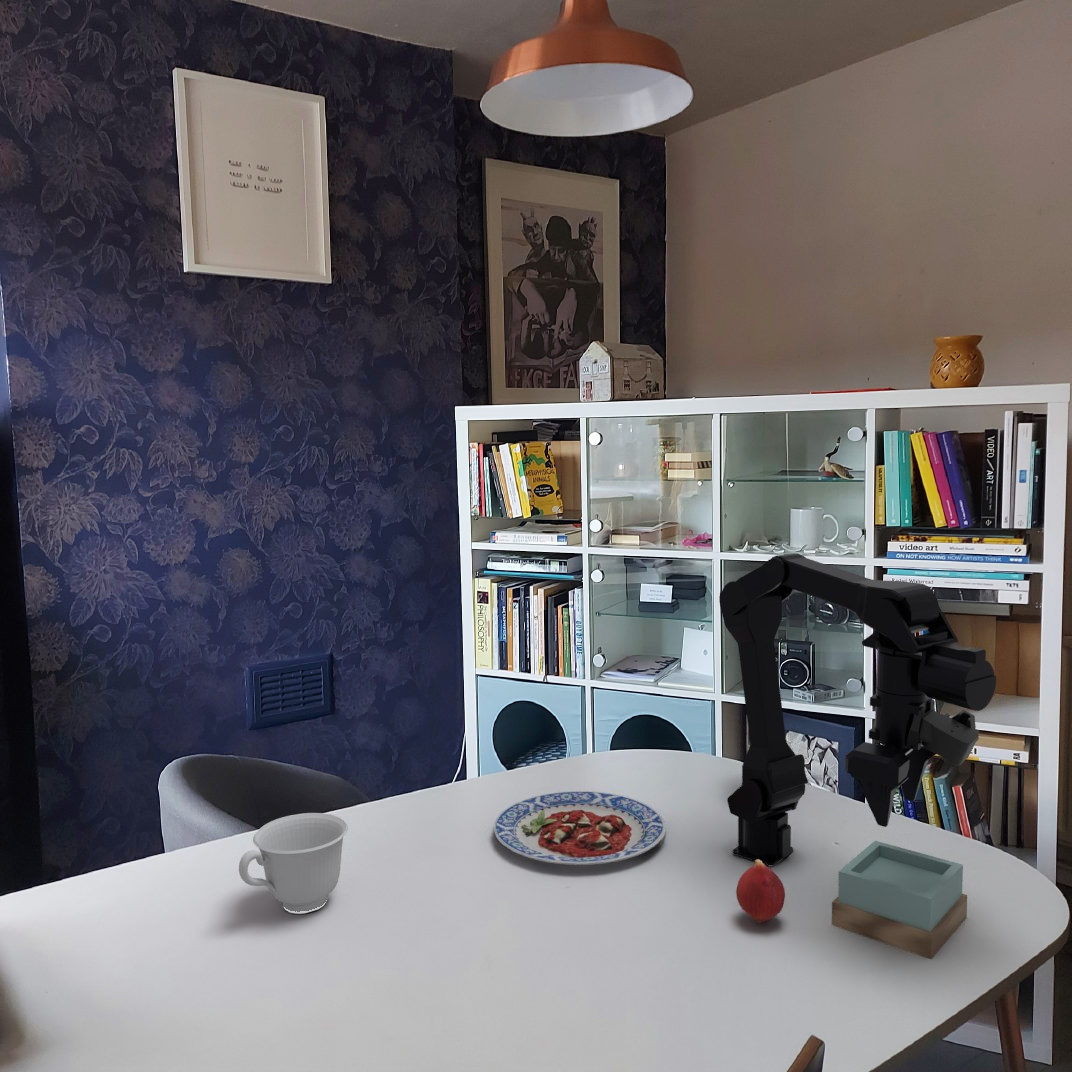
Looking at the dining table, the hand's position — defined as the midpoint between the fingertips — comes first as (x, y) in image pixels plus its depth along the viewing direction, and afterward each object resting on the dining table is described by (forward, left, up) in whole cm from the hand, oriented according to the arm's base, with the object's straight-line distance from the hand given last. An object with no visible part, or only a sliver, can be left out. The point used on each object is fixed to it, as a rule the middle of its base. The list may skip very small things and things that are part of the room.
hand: (896, 812), depth 117 cm
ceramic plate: (-45, -6, -14) cm, 48 cm away
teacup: (-60, -46, -14) cm, 77 cm away
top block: (+1, 0, -11) cm, 11 cm away
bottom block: (+1, 0, -14) cm, 14 cm away
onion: (-12, -11, -14) cm, 22 cm away
